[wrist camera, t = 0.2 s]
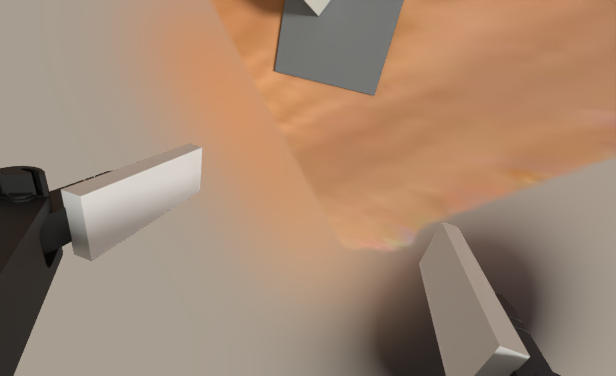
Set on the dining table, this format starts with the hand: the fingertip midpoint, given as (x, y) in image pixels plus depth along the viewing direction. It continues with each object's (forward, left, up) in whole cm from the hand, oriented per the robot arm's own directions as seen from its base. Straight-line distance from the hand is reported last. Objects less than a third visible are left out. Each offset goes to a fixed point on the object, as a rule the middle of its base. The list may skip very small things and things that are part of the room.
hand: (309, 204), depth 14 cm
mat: (-14, -5, -28) cm, 32 cm away
